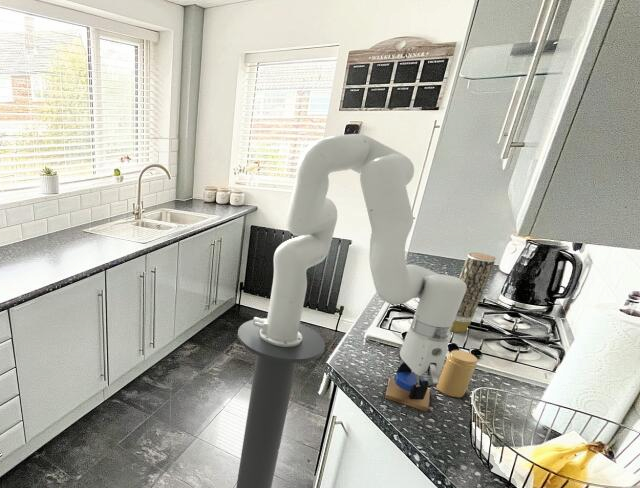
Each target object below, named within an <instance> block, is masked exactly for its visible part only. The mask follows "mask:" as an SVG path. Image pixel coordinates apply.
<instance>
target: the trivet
mask: <svg viewBox="0 0 640 488" xmlns="http://www.w3.org/2000/svg"><path fill="white" fill-rule="evenodd" d="M394 378H395V377H389V379H388V382H387V385H386V390H385V396H384V399H386V400H389V401H393V402H395V403H397V404H401V405H405V406H408V407H411V408H414V409H417V410H421V411H424V412H428V410H429V408H430V395H431V389H430V388H428V389H427V391H426V394H425V396H424V399H422V400H419V399H410V398H409V395H410V392H409V391H406V390H404V389H402V388H400V387H399V386H398V385H397V384H396V383H395V381H394V380H395V379H394Z"/></svg>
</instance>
